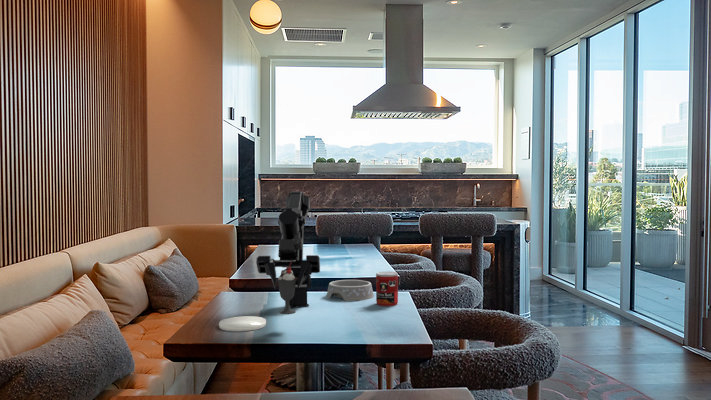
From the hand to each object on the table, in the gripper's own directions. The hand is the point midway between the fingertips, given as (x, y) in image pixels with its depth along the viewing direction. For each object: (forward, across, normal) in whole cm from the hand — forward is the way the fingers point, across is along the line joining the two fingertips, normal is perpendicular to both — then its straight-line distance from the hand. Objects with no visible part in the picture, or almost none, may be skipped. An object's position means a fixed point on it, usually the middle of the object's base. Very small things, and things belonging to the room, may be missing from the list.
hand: (286, 287), depth 167 cm
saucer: (+4, -14, +14) cm, 21 cm away
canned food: (-16, +32, +35) cm, 50 cm away
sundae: (+5, 0, +6) cm, 8 cm away
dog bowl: (-26, +18, +46) cm, 56 cm away
